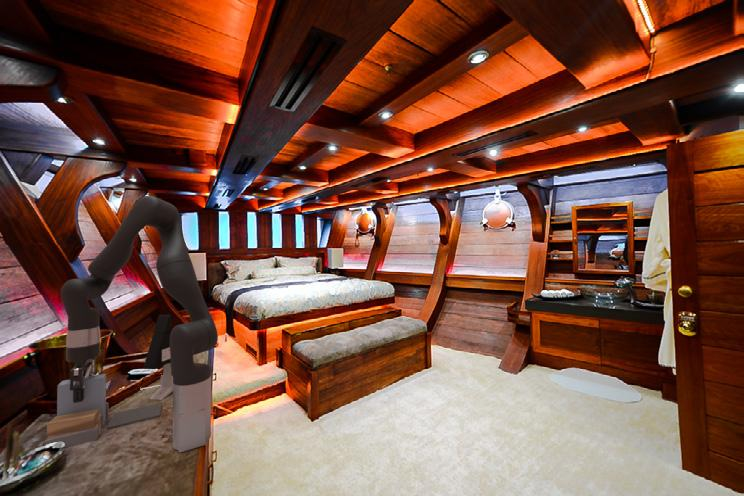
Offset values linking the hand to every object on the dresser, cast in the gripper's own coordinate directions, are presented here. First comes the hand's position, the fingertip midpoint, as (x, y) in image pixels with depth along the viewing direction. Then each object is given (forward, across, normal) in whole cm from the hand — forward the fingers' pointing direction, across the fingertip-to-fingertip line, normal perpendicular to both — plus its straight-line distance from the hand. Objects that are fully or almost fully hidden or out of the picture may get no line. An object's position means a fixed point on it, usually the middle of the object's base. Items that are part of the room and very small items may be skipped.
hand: (83, 396), depth 90 cm
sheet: (+10, 0, 0) cm, 10 cm away
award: (+10, +14, -20) cm, 27 cm away
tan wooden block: (+10, -3, 0) cm, 10 cm away
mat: (+10, 0, -13) cm, 16 cm away
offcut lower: (+10, -6, 0) cm, 12 cm away
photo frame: (+10, +30, -19) cm, 37 cm away
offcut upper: (+7, -6, 0) cm, 9 cm away
